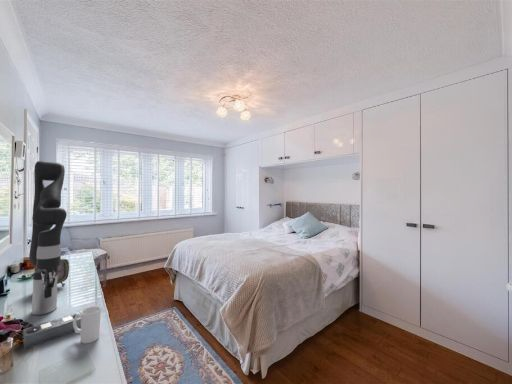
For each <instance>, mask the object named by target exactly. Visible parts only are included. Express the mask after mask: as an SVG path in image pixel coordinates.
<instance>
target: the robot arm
mask: <svg viewBox="0 0 512 384" xmlns="http://www.w3.org/2000/svg"><path fill="white" fill-rule="evenodd" d="M65 169H66V168H65V166H64V164H63V163H60V162H54V161H43V160H38V161H36V162H35V164H34V171H33V175H34V177H33V178H34V181H33V183H34V197H33V199H34V200H33V207H32V219H31V220H32V226H31V227H32V228H31V231H32V232H31V239H30V240H31V242H30V246H29V247H30V248H29V256H28V258H29V263H30V265H31V266H36V268H37V269H40V270H38V271H36V272H35V273H34V272H33V274H32V296H31V297H32V299H31V301H32V304H31V314H32V315H33V316H39V315H45V314H49V313H51V312H53V311H55V310H57V304H58V303H57V302H58V284H57V274H58V266H60V260H61V259H62V258H61V256H62V254H61V253H62V250H61V249H62V247H61V236H62V235H61V234H62V230H63V226H64V224H65V221H66V219H67V215H68V214H67V211H66V210H65V208H63V207H61V205H62V189H63V185H64V180H65V172H66V170H65ZM44 181H48V182H51V183H50V184H48V185H46V186H45V185H44ZM53 226H54V227H53Z"/></svg>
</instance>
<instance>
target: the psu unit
mask: <svg viewBox="0 0 512 384" xmlns="http://www.w3.org/2000/svg"><path fill="white" fill-rule="evenodd" d="M76 313H80V314H81V311H78V312H74V313H72V314H69V315H66V316H62V317H58V318H56V319H51V320H49V321H45V322H43V323H39V324H36V325H33V326H30V327H26V328H23V329H22V344H23V348H24V350H27V349H31V348H34V347H36V346H39V345H41V344H44V343H47V342H50V341H53V340H56V339H59V338H61V337H64V336H67V335H70V334H72V333H76V332H75V330H74V327H73V320H74V318H75V316H76ZM76 325H77V327H78V328H79V329H81V318H80V317H79V318H77V320H76ZM23 338H24V339H23Z"/></svg>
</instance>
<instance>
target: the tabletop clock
mask: <svg viewBox="0 0 512 384" xmlns="http://www.w3.org/2000/svg"><path fill="white" fill-rule="evenodd" d="M34 266H35V267H34V271H33V274H34V273H35V272H36V271H38V270H40V269H37V268H36V265H34ZM69 272H70V262H69V259H67V258H61V260H60V266H58V274H57V285H59V284H61V286H62V287H64V286H65V285H66V284H65V283H64V282H66V281H67V280H68V277H69V274H70V273H69Z"/></svg>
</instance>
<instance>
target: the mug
mask: <svg viewBox="0 0 512 384" xmlns="http://www.w3.org/2000/svg"><path fill="white" fill-rule="evenodd" d="M101 309H102V307H100V306H96V305H95V306H89V307H86V308H84V309H82V310H81V311H80V312H81V314H80V313H78V312H75V313H76V316H75V318H74V320H73V327H74V330H75V332H74V333H75V334H80V342H81V344H90V343H93V342H96V341H97V340H98V339H99V337H100V333H101V332H100V330H101V329H100V328H101V312H102V310H101ZM79 317H80V318H81V329H79V328H78V327H77V325H76V320H77V318H79Z"/></svg>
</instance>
